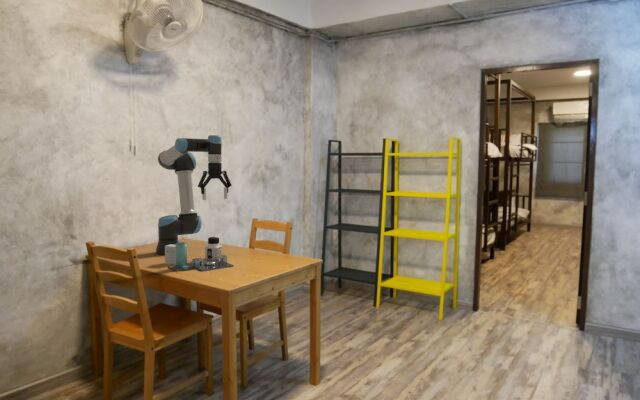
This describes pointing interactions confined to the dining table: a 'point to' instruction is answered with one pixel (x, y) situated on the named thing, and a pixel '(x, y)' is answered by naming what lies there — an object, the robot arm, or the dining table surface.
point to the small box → (170, 254)
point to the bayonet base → (210, 263)
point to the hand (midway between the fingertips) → (215, 199)
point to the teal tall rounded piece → (181, 255)
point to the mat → (181, 268)
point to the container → (213, 248)
